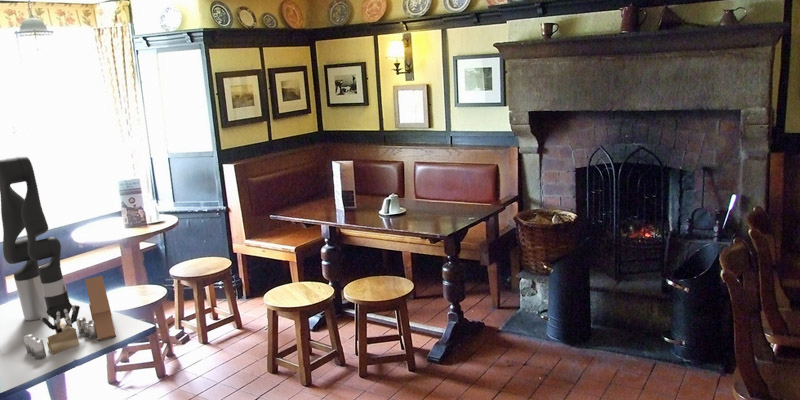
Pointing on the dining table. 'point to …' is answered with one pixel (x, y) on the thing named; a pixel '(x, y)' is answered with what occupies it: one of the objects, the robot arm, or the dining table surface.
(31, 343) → the spacers
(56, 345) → the wooden l-bracket
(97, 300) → the tan tall stepped post
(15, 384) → the dining table surface
